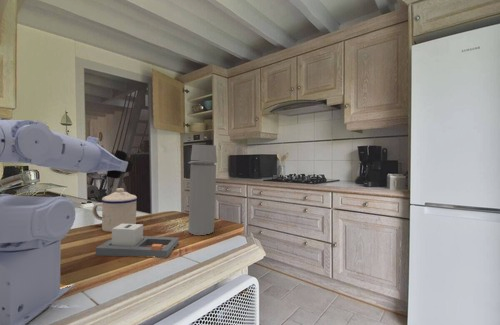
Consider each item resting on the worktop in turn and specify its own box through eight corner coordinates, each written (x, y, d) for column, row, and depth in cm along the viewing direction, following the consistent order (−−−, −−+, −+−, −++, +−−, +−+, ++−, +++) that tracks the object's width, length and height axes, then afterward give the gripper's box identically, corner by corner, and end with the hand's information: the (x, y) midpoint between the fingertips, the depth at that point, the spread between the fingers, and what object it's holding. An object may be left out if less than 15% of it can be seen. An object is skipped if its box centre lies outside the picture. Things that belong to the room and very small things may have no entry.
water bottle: (220, 233, 68) (223, 145, 67) (197, 240, 62) (200, 144, 61) (200, 226, 74) (203, 145, 73) (178, 231, 68) (180, 144, 67)
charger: (134, 252, 52) (134, 229, 51) (111, 251, 52) (112, 228, 51) (142, 245, 56) (143, 224, 55) (121, 244, 56) (122, 223, 55)
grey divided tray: (166, 262, 50) (167, 247, 50) (95, 259, 50) (95, 244, 50) (178, 247, 58) (178, 234, 58) (116, 245, 58) (117, 231, 58)
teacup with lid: (141, 224, 74) (142, 186, 73) (128, 233, 64) (129, 191, 64) (101, 223, 73) (102, 185, 72) (82, 233, 64) (83, 190, 63)
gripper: (114, 140, 41) (149, 153, 54) (37, 121, 42) (90, 138, 55) (101, 180, 40) (140, 183, 53) (22, 159, 41) (80, 167, 54)
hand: (114, 162), depth 54 cm, fingers open, 7 cm apart
